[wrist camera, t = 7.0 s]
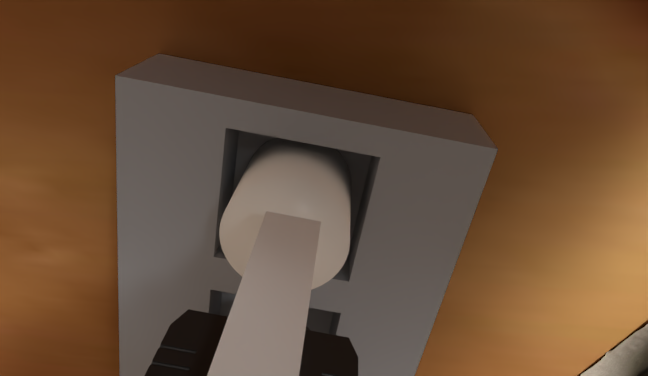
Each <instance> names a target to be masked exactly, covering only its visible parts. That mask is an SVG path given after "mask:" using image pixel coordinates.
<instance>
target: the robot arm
mask: <svg viewBox="0 0 648 376" xmlns="http://www.w3.org/2000/svg"><path fill="white" fill-rule="evenodd" d="M320 226H321V221H315V220H310V219H305V218H300V217H294V216H289V215H284V214H279V213H273V212H268V211H266V213H265V216H264V219H263V221H262V224H261V227H260V230H259V233H258V235H257V238H256V241H255V244H254V246H253V249H252V252H251V255H250V258H249V260H248V263H247V266H246V269H245V272H244V274H243V277H242V280H241V283H240V285H239V288H238V291H237V294H236V297H235V299H234V302H233V305H232V308H231V310H230V313H229V316H228V317H227V316H222V315H217V314H211V313H206V312H201V311H195V310H190V309H188V310H187V311H186V312H185V313H183V314H182V315H181V316H180V317H179V318H177V319H176V320H175V321H174V322H173V323H171V324H170V326H169V328H168V330H167V332H166V334H165V336H164V338H163V340H162V342H161V344H160V348H158V350H157V352H156V354H155V356H154V358H153V360H152V363H151V365H150V366H149V368H148V370H147V372H146V374H145V376H358V356H357V354H356V352H355V349H354V347H353V345H352V343H351V341H350V339H349V338H348V337H343V336H337V335H332V334H327V333H321V332H316V331H311V330H306V323H307V316H308V309H309V302H310V295H311V288H312V282H313V275H314V268H315V261H316V254H317V247H318V240H319V233H320Z"/></svg>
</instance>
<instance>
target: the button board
mask: <svg viewBox="0 0 648 376" xmlns="http://www.w3.org/2000/svg"><path fill="white" fill-rule="evenodd" d="M115 101H116V168H117V235H118V302H119V369H120V376H145V374H146V372H147V370H148V368H149V366H150V365H151V363H152V360H153V358H154V356H155V354H156V352H157V350H158V348H160V344H161V342H162V340H163V338H164V336H165V334H166V332H167V330H168V328H169V326H170V324H171V323H173V322H174V321H175V320H176V319H177V318H179V317H180V316H181V315H182V314H183V313H185V312H186V311H187V310H188V309H190V310H195V311H201V312H206V313H211V314H217V315H222V316H227V317H228V316H229V313H230V310H231V308H232V305H233V302H234V299H235V297H236V294H237V291H238V288H239V285H240V283H241V280H242V276H241V275H239V274H238V273H237V272H236V271H235V270H234V268H233V267H232V266H231V265H230V263H229V262H228V260H227V259H226V257H225V255H224V253H223V250H222V247H221V244H220V237H219V228H220V222H221V219H222V216H223V213H224V211H225V209H226V207H227V205H228V204H229V202H230V200H231V198H232V196H233V194H234V192H235V190H236V188H237V186H238V184H239V182H240V180H241V178H242V176H243V174H244V172H245V170H246V168H247V166H248V164H249V162H250V160H251V159H252V157H253V155H254V154H255V153H256V151H257V150H258V149H259V148H260V147H261V146H262V145H264V144H265V143H266V142H268V141H270V140H272V139H274V138H276V137H277V138H282V139H287V140H292V141H298V142H303V143H308V144H313V145H319V146H324V147H329V148H334V149H336V150H337V151H338V152H339V154H340V155H341V156H342V157H343V159H344V161H345V162H346V164H347V167H348V169H349V172H350V177H351V215H350V248H349V253H348V256H347V259H346V261H345V263H344V265H343V267H342V268H341V269H340V271H339V272H338V273H337V274H336V275H335V276H334V277H333V278H332V279H331V280H329V281H328V282H326V283H325V284H323V285H321V286H319V287H317V288H315V289H312V290H311V295H310V302H309V309H308V316H307V323H306V326H307V327H308V328H309V329H310V330H311V331H316V332H321V333H327V334H332V335H337V336H343V337H348V338H349V339H350V341H351V343H352V345H353V347H354V349H355V352H356V354H357V356H358V376H415V373H416V370H417V368H418V365H419V362H420V359H421V357H422V354H423V351H424V349H425V346H426V343H427V340H428V338H429V335H430V332H431V330H432V327H433V324H434V321H435V319H436V316H437V313H438V311H439V308H440V305H441V303H442V300H443V297H444V294H445V292H446V289H447V286H448V284H449V281H450V278H451V275H452V273H453V270H454V267H455V265H456V262H457V259H458V257H459V254H460V251H461V248H462V246H463V243H464V240H465V238H466V235H467V232H468V229H469V227H470V224H471V221H472V219H473V216H474V213H475V210H476V208H477V205H478V202H479V200H480V197H481V194H482V192H483V189H484V186H485V183H486V181H487V178H488V175H489V173H490V170H491V167H492V164H493V162H494V159H495V156H496V154H497V151H498V148H497V147H496V146H495V144H494V143H493V142H492V140H491V139H490V137H489V136H488V135H487V133H486V132H485V131H484V129H483V128H482V127H481V125H480V124H479V122H478V121H477V120H476V118H475V117H474V116H473V114H467V113H462V112H457V111H452V110H447V109H442V108H437V107H431V106H426V105H421V104H416V103H411V102H406V101H401V100H395V99H390V98H385V97H380V96H375V95H370V94H365V93H359V92H354V91H349V90H344V89H339V88H334V87H329V86H323V85H318V84H313V83H308V82H303V81H298V80H293V79H287V78H282V77H277V76H272V75H267V74H262V73H257V72H251V71H246V70H241V69H236V68H231V67H226V66H221V65H215V64H210V63H205V62H200V61H195V60H190V59H185V58H179V57H174V56H169V55H164V54H157V55H155V56H153V57H151V58H149V59H147V60H145V61H143V62H141V63H139V64H137V65H135V66H133V67H131V68H129V69H127V70H125V71H123V72H121V73H119V74H117V75H115Z"/></svg>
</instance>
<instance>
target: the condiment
mask: <svg viewBox="0 0 648 376" xmlns="http://www.w3.org/2000/svg"><path fill="white" fill-rule="evenodd" d="M580 376H648V324H647V325H646V326H644V327H643V328H642V329H640V330H638V331H636V332H635V333H634V334H632V335H631V336H630V337H629V338H627V339H626V340H625V341H623V342H622V343H621V344H620V345H619V346H617V347H616V348H615V349H613V350H611V351H610V350H609V351H608V352H607V353H606V355H605V356H604V357H603V358H602V359H601V360H600V361H599V362H598V363H597V364H595V365H594V366H593V367H591V368H590V369H588V370H586V371H585V372H584V373H582V374H581V375H580Z"/></svg>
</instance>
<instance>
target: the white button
mask: <svg viewBox="0 0 648 376" xmlns="http://www.w3.org/2000/svg"><path fill="white" fill-rule="evenodd" d="M266 211H268V212H273V213H279V214H284V215H289V216H294V217H300V218H305V219H310V220H315V221H321V226H320V233H319V240H318V247H317V254H316V261H315V268H314V275H313V282H312V288H311V290H312V289H315V288H317V287H319V286H321V285H323V284H325V283H326V282H328V281H329V280H331V279H332V278H333V277H334V276H335V275H336V274H337V273H338V272H339V271H340V269H341V268H342V267H343V265H344V263H345V261H346V259H347V256H348V253H349V248H350V215H351V177H350V172H349V169H348V167H347V164H346V162H345V161H344V159H343V157H342V156H341V155H340V154H339V152H338V151H337V150H336V149H334V148H329V147H324V146H319V145H313V144H308V143H303V142H298V141H292V140H287V139H282V138H277V137H276V138H274V139H272V140H270V141H268V142H266V143H265V144H264V145H262V146H261V147H260V148H259V149H258V150H257V151H256V153H255V154H254V155H253V157H252V159H251V160H250V162H249V164H248V166H247V168H246V170H245V172H244V174H243V176H242V178H241V180H240V182H239V184H238V186H237V188H236V190H235V192H234V194H233V196H232V198H231V200H230V202H229V204H228V205H227V207H226V209H225V211H224V213H223V216H222V219H221V222H220V228H219V237H220V244H221V247H222V250H223V253H224V255H225V257H226V259H227V260H228V262H229V263H230V265H231V266H232V267H233V268H234V270H235V271H236V272H237V273H238V274H239V275H241V276H242V277H243V274H244V272H245V269H246V266H247V263H248V260H249V258H250V255H251V252H252V249H253V246H254V244H255V241H256V238H257V235H258V233H259V230H260V227H261V224H262V221H263V219H264V216H265V213H266Z"/></svg>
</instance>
